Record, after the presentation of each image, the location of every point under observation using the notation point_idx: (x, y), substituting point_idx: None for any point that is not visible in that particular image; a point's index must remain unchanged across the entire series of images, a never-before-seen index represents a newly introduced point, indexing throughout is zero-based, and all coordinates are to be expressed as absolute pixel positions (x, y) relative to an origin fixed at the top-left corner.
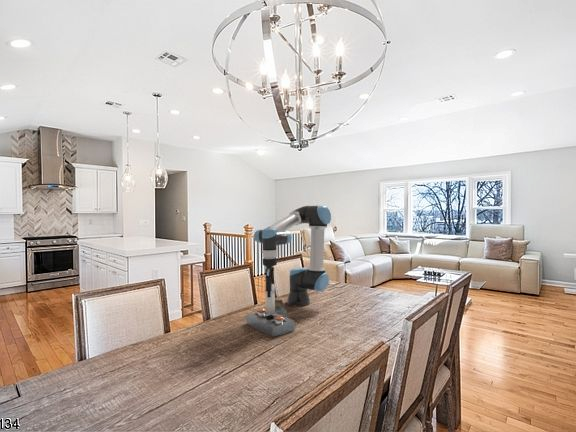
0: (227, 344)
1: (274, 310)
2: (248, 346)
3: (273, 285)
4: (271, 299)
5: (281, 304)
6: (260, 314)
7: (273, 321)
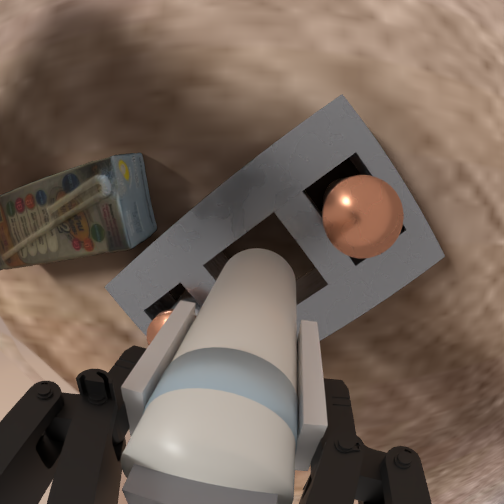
0: (437, 405)
1: (275, 262)
2: (479, 337)
3: (242, 463)
4: (318, 348)
5: (33, 200)
6: None
7: None
